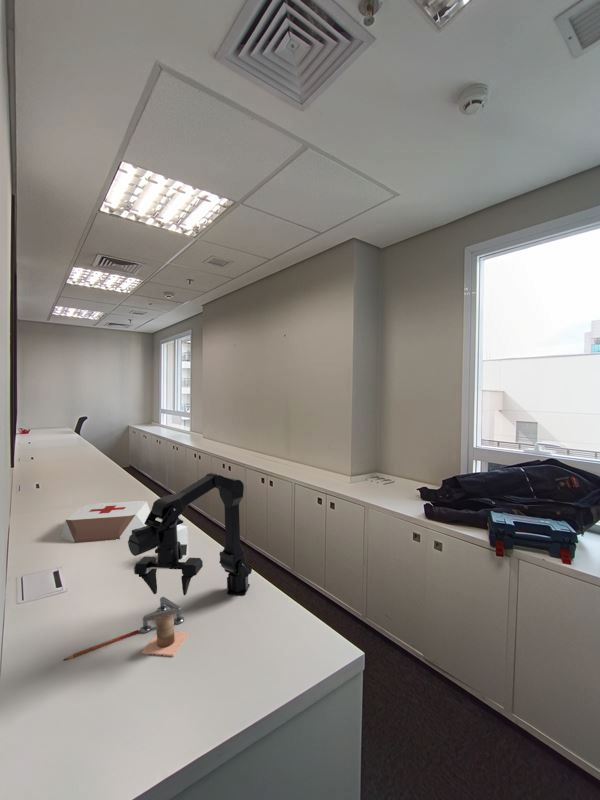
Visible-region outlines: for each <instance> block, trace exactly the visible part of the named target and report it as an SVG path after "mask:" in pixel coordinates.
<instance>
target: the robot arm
mask: <svg viewBox="0 0 600 800" xmlns="http://www.w3.org/2000/svg"><path fill="white" fill-rule="evenodd" d="M213 489H217V490H218V492H219V493H218V494H219V497H220V499H221V502H223V503H222V504H223V505H224V506H223V507H224V532H225V534H224V535H225V546H224V548H223V550H221V551H220V552H219V563H218V564H220V566H221V568H223V569H224V572H225V573H227V577H226V589H227V591H226V594H228V595H238V596H239V595H240V596H241V595H242V596H245V595H246V594H247V592H248V590H249V588H250V587H251V584H250V583H249V575H251V574H252V571H253V566H252V565H250V564H249V563H248V562H247V559H246V553H245V551H244V549H243V547H242V545H241V529H240V528H241V527H240V526H241V525H240V503H241V502H242V499H243V497H244V491H245V490H244V489H245V486H244V482H243V481H242V480H240V479H236V478H231V477H225V476H223V475H221V474H220V473H214V472H209V473H207V474H206V475H205V476H203V477H202V478H200V479H199V480H197V481H195V482H194V483H192V484H191V485H189V486H187V487H185V488H184V489H182V490H180V491H179V492H175V493H172V494H168V495H164V496H162V497H159V498H157V499H156V500H155V501H154V502H153V505H152V507H151V509H150V513H149V515H148V517H147V519H146V521H145V523H144V524H145V525H147V526H145V527H142V528H139V529H134V530H132V535H130V536H128V537H129V538H128V541H127V544H128V545H127V546H128V549H129V551H130V553H131V554H132V556H134V557H136V556H139V555H142V554H144V553H146V552H149V551H152V550H154V553H155V554H157V557H156V556H143V557H142V558H141V559H140V560H139V561H137V562H136V563H135V564H134V566H133V574H134V575H138V578H142V580H143V581H144V582H145V583H146V585H147V586H148V587H149V589H150V590H151V592H152V593H153V594H154V595H156V594H157V592H158V582H157V571H158V570H181V574H182V575H181V584H182V585H181V588H182V593H183V596H186V595H187V594H188V591H189V587H190V583H191V579H193V577H194V576H195V577H196V576H197V574H198V573H199V572H200V571H201V570H202V568H203V567H204V566H203V565H204V563H203V560H202V558H201V557H188V559H187V560H186V561H185V562H184V561H183V562H182V560H181V559H182V558H183V555H186V552H187V544H180V542H178V538H177V525H183V524H184V520H183V519H181V518H180V516H181V515H182V514H183V513H184V511H185V510H186V508H187V507H188V506H189V505H191V503H193V502H195V501H196V500H199V498H201V497H202V496H205V494H207V493H209V492H210V491H211V490H213ZM156 519H158V520H156ZM159 519H160V520H161V521H160V520H159ZM179 560H181V561H179Z"/></svg>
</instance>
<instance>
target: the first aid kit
mask: <svg viewBox="0 0 600 800" xmlns="http://www.w3.org/2000/svg"><path fill="white" fill-rule="evenodd" d="M150 512H151V509H150V506H149V504H148V500H147V501H146V500H137V501H135V500H134V501H122V502H121V501H119V502H103V503H90V504H84V505H82V506H81V507H80V508H79V509H77V510H76V511H75V512H73V513H72V514H71V515H69V516H68V517H66V519H65V520H64V525H63V528H62V531H61V536H60V537H61V538H63V539H65V540H67V541H69V542H71V543H74V544H81V543H82V544H83V543H92V542H95V543H96V542H105V541H106V540H107V541H116V539H119V540H123V539H125V537H126V538H128V537H130V535H132V530H134V529H139V528H142V527H145V526H147V525H145V524H144V523H145V521H146V519H147V517H148V515H149V513H150ZM127 536H128V537H127ZM122 538H123V539H122Z"/></svg>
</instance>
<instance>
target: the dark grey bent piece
mask: <svg viewBox="0 0 600 800" xmlns="http://www.w3.org/2000/svg"><path fill="white" fill-rule="evenodd" d="M159 603H160V606H159V607H158V608H157V612H154V613H153V612H152V613H149V614H145V615H144V616H142V625H143V626H142V627H140V628H139V633H141V634H147V633H150V631H152V626H151V625H150V624H148V622H149V621H150V622H151V621H153V620H156V619H157V620H158V619H160V618H162V617H165V616H173V615H176V617H175V618H174V625H180V624H182V623H184V621H185V617H183V616H182V615H181V614H182V613H181V610H182V609H181V606H179V605H177V604H176V603H174V602H173V601H171V600H170V599H168V598H166V597H165V596H162V597H160V598H159ZM168 608H169V609H168Z"/></svg>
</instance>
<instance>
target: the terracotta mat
mask: <svg viewBox="0 0 600 800" xmlns="http://www.w3.org/2000/svg"><path fill="white" fill-rule="evenodd" d="M188 635H189V632H186V631H185V632H184V631H174V639H175V641H174V643H173V644H172V645H170V646H169V647H165V648H160V647H158V646H157V633H156V634H155V635H154V636H153V637H152V639H151V640H150V641H149V642H148V644H147V645H146V646H145V648H143V650H142V651H141V655H149V654H152V655H151V656H161V655H163V656H164V657H174V656H175V655H176V653H177V652H178V651H179V650H180V649H179V648H180V647H181V646H182V644H183V643H184V641H185V640H186V639H187V637H188ZM153 654H155V655H153ZM163 656H162V657H163Z"/></svg>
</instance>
